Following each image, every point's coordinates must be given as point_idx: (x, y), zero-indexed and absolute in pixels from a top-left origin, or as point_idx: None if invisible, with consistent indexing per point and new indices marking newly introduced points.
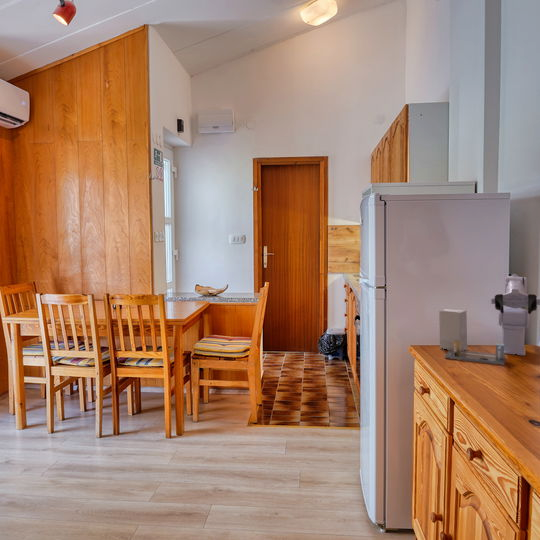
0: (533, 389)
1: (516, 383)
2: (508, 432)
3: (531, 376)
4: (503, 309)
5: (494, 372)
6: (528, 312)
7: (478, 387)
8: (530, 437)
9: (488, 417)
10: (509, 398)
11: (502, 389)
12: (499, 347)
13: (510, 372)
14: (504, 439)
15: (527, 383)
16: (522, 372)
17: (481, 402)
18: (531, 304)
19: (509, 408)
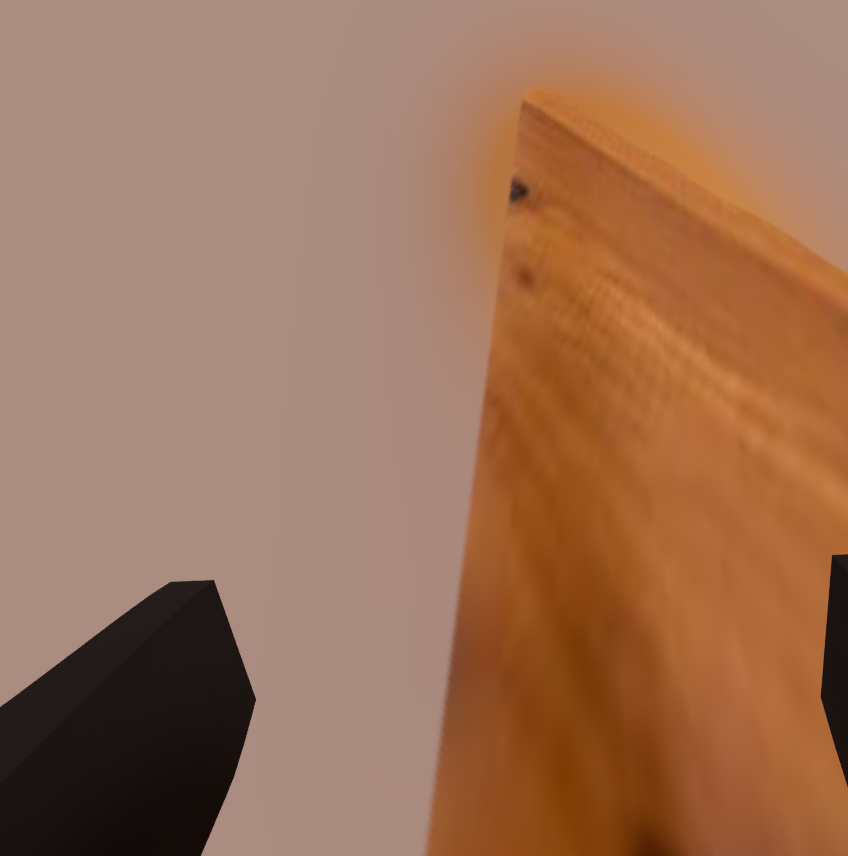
0: (488, 425)
1: (571, 471)
2: (575, 131)
3: (475, 662)
4: (831, 620)
5: (747, 639)
6: (242, 672)
7: (747, 330)
8: (526, 138)
9: (636, 158)
10: (590, 289)
11: (631, 359)
12: None
13: (628, 702)
14: (581, 110)
15: (512, 499)
16: (535, 750)
17: (683, 218)
18: (25, 700)
19: (583, 225)
